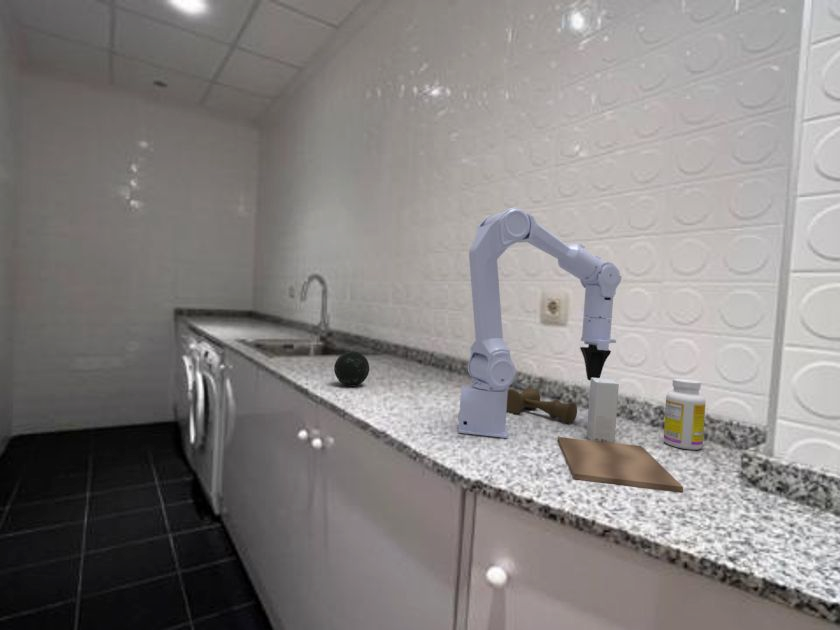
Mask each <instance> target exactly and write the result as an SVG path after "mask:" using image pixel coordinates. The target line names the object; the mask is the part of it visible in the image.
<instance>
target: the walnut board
mask: <svg viewBox="0 0 840 630" xmlns="http://www.w3.org/2000/svg"><path fill="white" fill-rule="evenodd" d="M557 443H558V445H559V448H560V451H561V452H562V454H563V457H564V459H565V462H566V464H567V467H568V469H569V471H570V473H571V476H572V478H573V480H581V481H589V482H595V483H602V484H603V483H604V484H605V483H606V484H611V485H612V484H613V485H619V486H628V487H635V488H636V487H637V488H643V489H644V488H645V489H651V490H653V489H654V490H659V491H660V490H661V491H668V492H676V493H683V492H684V486H683V485H682V484H681V483H680V482H679V481H678V480H677V479H676V478H675V477H674V476H673V475H672V474H671V473H670V472H668V471H667V469H665V468H664V466H663V465H661V464H660V463H659V462H658V461H657V459H656V458H654V457H653V456H652V454H650V453H649V451H647V450H646V449H645V447H643V446H642V445H637V444H628V443H620V442H619V443H618V442H615V443H610V442H601V441H591V440H590V439H582V438H581V439H580V438H570V437H562V436H557Z"/></svg>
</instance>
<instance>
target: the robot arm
mask: <svg viewBox="0 0 840 630" xmlns="http://www.w3.org/2000/svg"><path fill="white" fill-rule="evenodd" d="M476 229H477V230H476V231H477V232H476V234H475V237H474V240H473V241H472V244H471V246H470V248H469V251H468V257H469V271H470V272H469V273H470V283H471V284H470V285H471V296H472V297H471V298H472V309H473V322H474V323H473V324H474V334H475V335H474V336H475V340H474V342H473V343H472V345H471V346H470V356H469V360H468V363H467V371H468V373H469V376H470V377H471V378H472V380H471V384H470V385H462V386H461V390H460V398H459V399H460V401H459V412H458V417H457V419H458V421H457V422H458V429H457V432H458V433H459V434H464V435H465V434H467V435H473V436H474V435H475V436H476V435H477V436H483V437H484V436H485V437H491V438H492V437H495V438H504V439H507V438H508V437H509V435H508V425H507V412H506V411H507V395H508V389H510V386H511V385H512V384H513V382H514V381H515V378H516V375H517V374H516V373H517V371H516V367H515V364H514V362H513V360H512V358H511V351H510V348H509V347H508V345H507V344H506V342H505V340H504V337H503V336H504V335H503V322H502V307H501V295H500V281H499V271H498V270H499V267H498V266H499V265H498V259H499V258H500V257H501V256H502V255H503V254H504V253H505V251H506V250H508V248H510V247H511V246H513V245H515V244H517V243H520V244H521V243H527V244H530V245H531V246H533V247H535V248H537V249H539V250H541V251H543V252H545V253H546V254H548V255H550V256H552V257H553V258H555V259H557V264H558V266H559V268H561V269H562V270H564V271H566V272H567V273H568V274H571V275H572V276H573V277H575V278H577V279H579V282H580V284H581V286H582V287H583V288H584V289H585V291H584V304H583V305H584V306H583V321H582V332H581V337H580V342H583V345H588V346H581V347H579V349H580V352H581V354H582V357H583V360H584V365H585V375H586V379H587V380H588V381H591V378H592V377H593V378H601V375H602V371H603V369H604V365H605V362H606V361H607V359H608V357H609V356H610V355H611V352H612V351H611V350H610V349H609V347H610V344H616V343H617V340H616V339H612V338H611V335H612V334H611V333H612V332H611V330H612V318H613V305H614V297H615V295H616V294H617V293H616V292H617V288H618V286H619V285H620V284H621V281H622V275H621V273H620V269H618V267H617V266H616V265H615V264H614V263H613V262H610V261H608V262H606V261H605V262H603V260H601V257H600V256H598V255H596V256H595V255H594V254H592V253H591V252H590V251H588V250H586V249H585V247H586V246H585V245H584V244H581V243H579V244H576V243H570V244H567V243H565V242H564V241H563V240H561V239H560V238H559V237H557V236H556V235H555V234H553V233H552V232H550V230H548V229H546V228H545V227H543V226H542V224H539V222H537V220H536V219H535V216H534V215H532V214H529V213H527V212H525V210H523V209H521V208H518V207H511V208H508V209H507V210H505V211H501V212H500V213H496V214H492V215H489V216H487V217H486V218H484V220H483V221H481V222H480V223H479V224H478V225H477V227H476Z"/></svg>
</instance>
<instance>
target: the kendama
mask: <svg viewBox="0 0 840 630" xmlns="http://www.w3.org/2000/svg"><path fill="white" fill-rule="evenodd" d="M523 408H526V409H527V408H528V409H527V410H532V409H534V410H536V409H538V410H540V411H542V412H544V413H546V414H548V415H549V417H550V418H552V419H556V418H558V419H560V420H562V421H564V423H565V424H568V425H571V424H573V423H574V422H575V420H576V418H577V414H578V407H577V404H576V402H574V401H570V402H568V403H563V402H561V401H560V400H559V399H554V400H551V401H543V400H541V395H540V393H539V391H538V390H537V389H535V388H533V387H526V388H524V389H523V390H522V391H521V392H519V390H516V389H515V388H508V395H507V411H506V413H508V412H509V414H511V413H513V414H512V415H516V414H519V413H520V412H521V410H523ZM570 423H571V424H570Z"/></svg>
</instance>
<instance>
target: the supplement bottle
mask: <svg viewBox="0 0 840 630" xmlns="http://www.w3.org/2000/svg"><path fill="white" fill-rule="evenodd" d="M701 384H702V382H701V381H698V380H695V379H686V378H673V379H672V386H673V390H670V391H669V392H667V394H666V396H665V406H664V407H665V410H664V425H663V441H664V443H665V444H666V445H669V446H671V447H674V448H677V449H678V448H679V449H682V450H688V451H689V450H691V451H697V450H700V449H702V448H703V443H704V432H705V431H704V430H705V415H706V399H705V397H704V396H703V395H702V394H700V390H701Z"/></svg>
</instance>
